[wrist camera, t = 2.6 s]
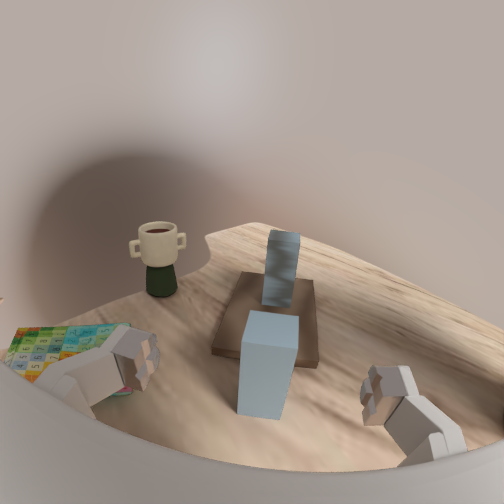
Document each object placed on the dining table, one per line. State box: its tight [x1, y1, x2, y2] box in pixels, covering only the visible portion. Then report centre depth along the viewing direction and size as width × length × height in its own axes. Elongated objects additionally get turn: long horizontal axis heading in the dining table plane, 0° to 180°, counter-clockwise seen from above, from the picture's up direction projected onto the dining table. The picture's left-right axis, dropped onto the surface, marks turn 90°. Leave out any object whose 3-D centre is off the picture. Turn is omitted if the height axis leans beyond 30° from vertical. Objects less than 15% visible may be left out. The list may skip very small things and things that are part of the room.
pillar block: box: [237, 310, 299, 420], centre depth 28 cm, size 5×5×12 cm
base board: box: [212, 230, 319, 368], centre depth 45 cm, size 15×24×14 cm, turn 172°
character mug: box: [129, 222, 186, 297], centre depth 49 cm, size 11×7×13 cm, turn 123°
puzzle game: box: [4, 323, 133, 396], centre depth 29 cm, size 12×5×20 cm
